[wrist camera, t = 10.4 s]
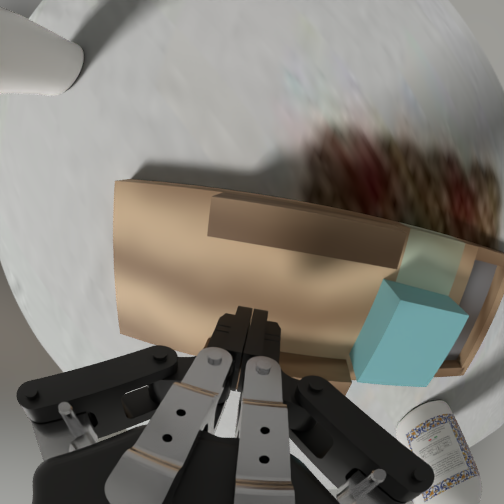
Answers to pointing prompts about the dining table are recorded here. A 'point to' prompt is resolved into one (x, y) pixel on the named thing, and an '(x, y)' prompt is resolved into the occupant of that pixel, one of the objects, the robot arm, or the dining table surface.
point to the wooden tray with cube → (283, 272)
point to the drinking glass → (35, 58)
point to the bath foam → (441, 454)
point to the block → (406, 336)
